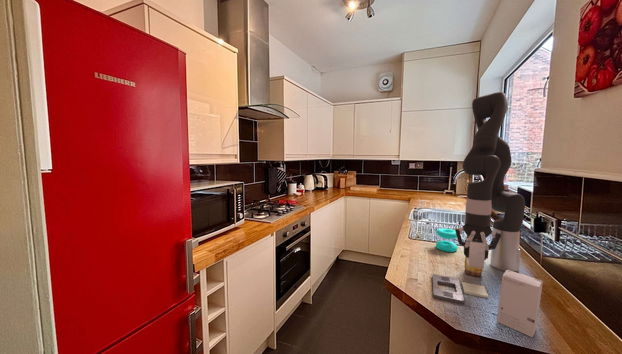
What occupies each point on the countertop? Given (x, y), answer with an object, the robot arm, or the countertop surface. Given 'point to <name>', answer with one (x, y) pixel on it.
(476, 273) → the sauce bottle
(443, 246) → the donuts
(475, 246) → the square post
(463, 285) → the pad
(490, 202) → the robot arm
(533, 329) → the skincare box
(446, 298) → the rectangular plate with hole
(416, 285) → the countertop surface
